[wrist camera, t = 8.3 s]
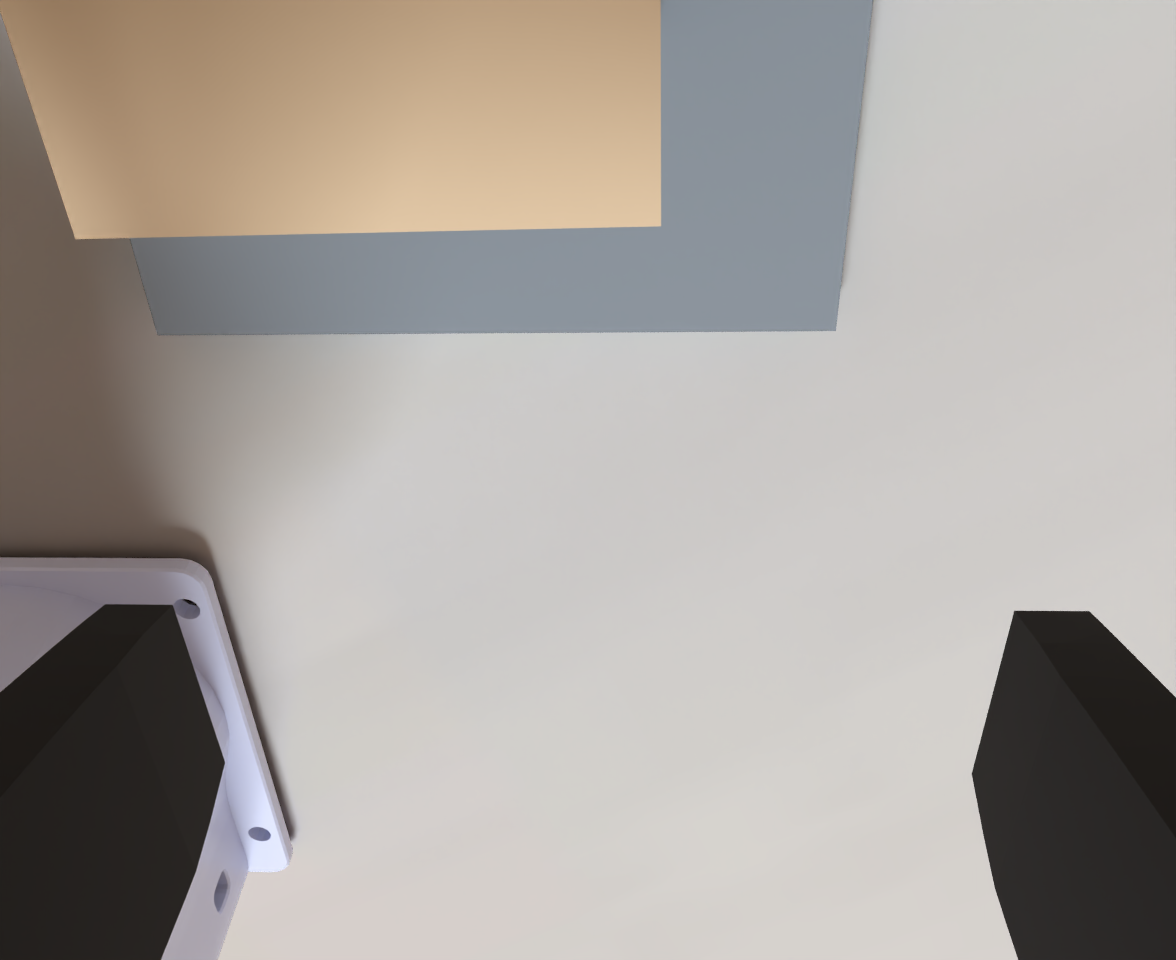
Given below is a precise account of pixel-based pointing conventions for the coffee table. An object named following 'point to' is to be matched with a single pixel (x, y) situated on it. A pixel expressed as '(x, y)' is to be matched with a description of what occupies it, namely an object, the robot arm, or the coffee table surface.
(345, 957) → the coffee table surface
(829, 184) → the slate mat
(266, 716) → the coffee table surface
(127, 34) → the stool
